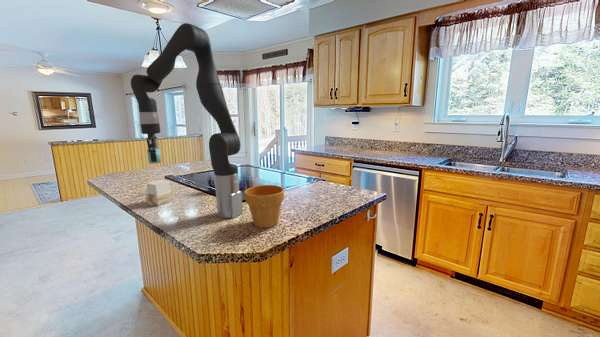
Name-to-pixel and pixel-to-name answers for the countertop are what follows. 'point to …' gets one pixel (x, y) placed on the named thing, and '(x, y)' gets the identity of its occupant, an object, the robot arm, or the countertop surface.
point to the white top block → (158, 187)
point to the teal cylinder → (156, 156)
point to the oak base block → (159, 199)
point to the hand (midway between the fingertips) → (154, 160)
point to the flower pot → (265, 204)
